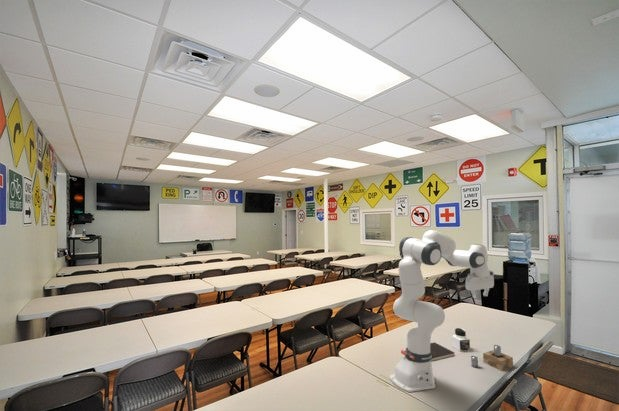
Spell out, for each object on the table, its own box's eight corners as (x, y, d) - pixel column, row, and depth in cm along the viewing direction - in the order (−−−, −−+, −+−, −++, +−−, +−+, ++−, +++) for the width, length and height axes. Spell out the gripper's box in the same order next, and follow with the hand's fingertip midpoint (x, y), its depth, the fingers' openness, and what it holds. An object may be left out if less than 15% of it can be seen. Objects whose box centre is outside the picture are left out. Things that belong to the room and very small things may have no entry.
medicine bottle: (460, 351, 169) (459, 331, 170) (452, 346, 176) (451, 327, 177) (470, 350, 170) (469, 330, 171) (461, 345, 177) (461, 326, 178)
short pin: (475, 368, 149) (475, 359, 150) (470, 365, 152) (469, 356, 152) (479, 367, 150) (479, 357, 151) (473, 364, 153) (473, 355, 154)
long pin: (499, 366, 151) (498, 347, 152) (493, 363, 154) (492, 345, 155) (502, 365, 153) (501, 346, 153) (496, 362, 156) (495, 344, 156)
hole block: (501, 370, 147) (501, 361, 147) (483, 362, 156) (483, 353, 156) (513, 366, 151) (512, 357, 151) (494, 358, 160) (494, 349, 160)
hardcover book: (455, 356, 164) (454, 352, 164) (425, 363, 155) (425, 359, 156) (434, 345, 179) (433, 341, 179) (405, 351, 170) (405, 347, 170)
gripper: (472, 274, 150) (473, 300, 150) (495, 272, 159) (496, 296, 158) (461, 272, 156) (462, 297, 155) (485, 270, 165) (486, 293, 164)
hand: (480, 296), depth 157 cm, fingers open, 8 cm apart
